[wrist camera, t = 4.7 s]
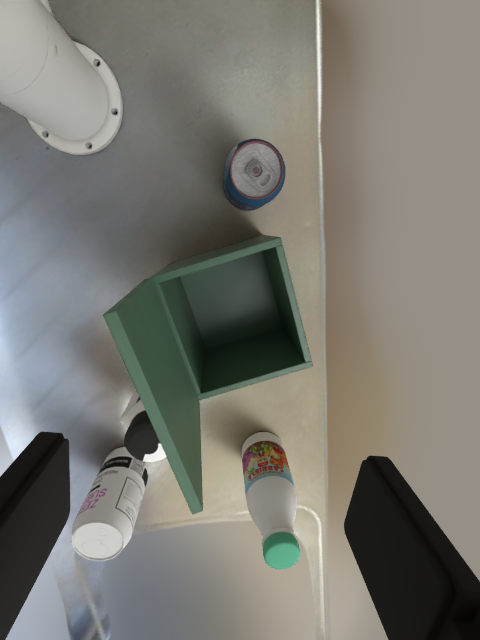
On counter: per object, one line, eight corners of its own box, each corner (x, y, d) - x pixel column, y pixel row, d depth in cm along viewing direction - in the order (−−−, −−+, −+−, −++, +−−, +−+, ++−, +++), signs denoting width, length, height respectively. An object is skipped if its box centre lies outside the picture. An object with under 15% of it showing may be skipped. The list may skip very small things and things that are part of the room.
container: (132, 394, 53) (105, 445, 40) (164, 365, 52) (146, 409, 39) (165, 422, 55) (149, 479, 42) (196, 395, 54) (189, 445, 41)
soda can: (213, 186, 44) (210, 171, 33) (246, 147, 43) (256, 118, 32) (248, 221, 46) (257, 218, 34) (281, 185, 45) (301, 169, 33)
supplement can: (143, 486, 58) (117, 570, 44) (100, 473, 57) (59, 555, 43) (158, 452, 56) (137, 528, 42) (114, 438, 55) (76, 512, 41)
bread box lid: (116, 310, 18) (102, 314, 18) (203, 511, 22) (192, 515, 22) (151, 277, 32) (144, 279, 32) (199, 402, 37) (193, 404, 37)
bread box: (262, 234, 47) (280, 237, 33) (287, 328, 51) (313, 366, 37) (170, 263, 47) (148, 277, 33) (203, 353, 52) (196, 401, 37)
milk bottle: (289, 453, 58) (323, 563, 39) (253, 471, 59) (269, 588, 40) (270, 423, 56) (296, 524, 37) (233, 442, 57) (240, 551, 38)
